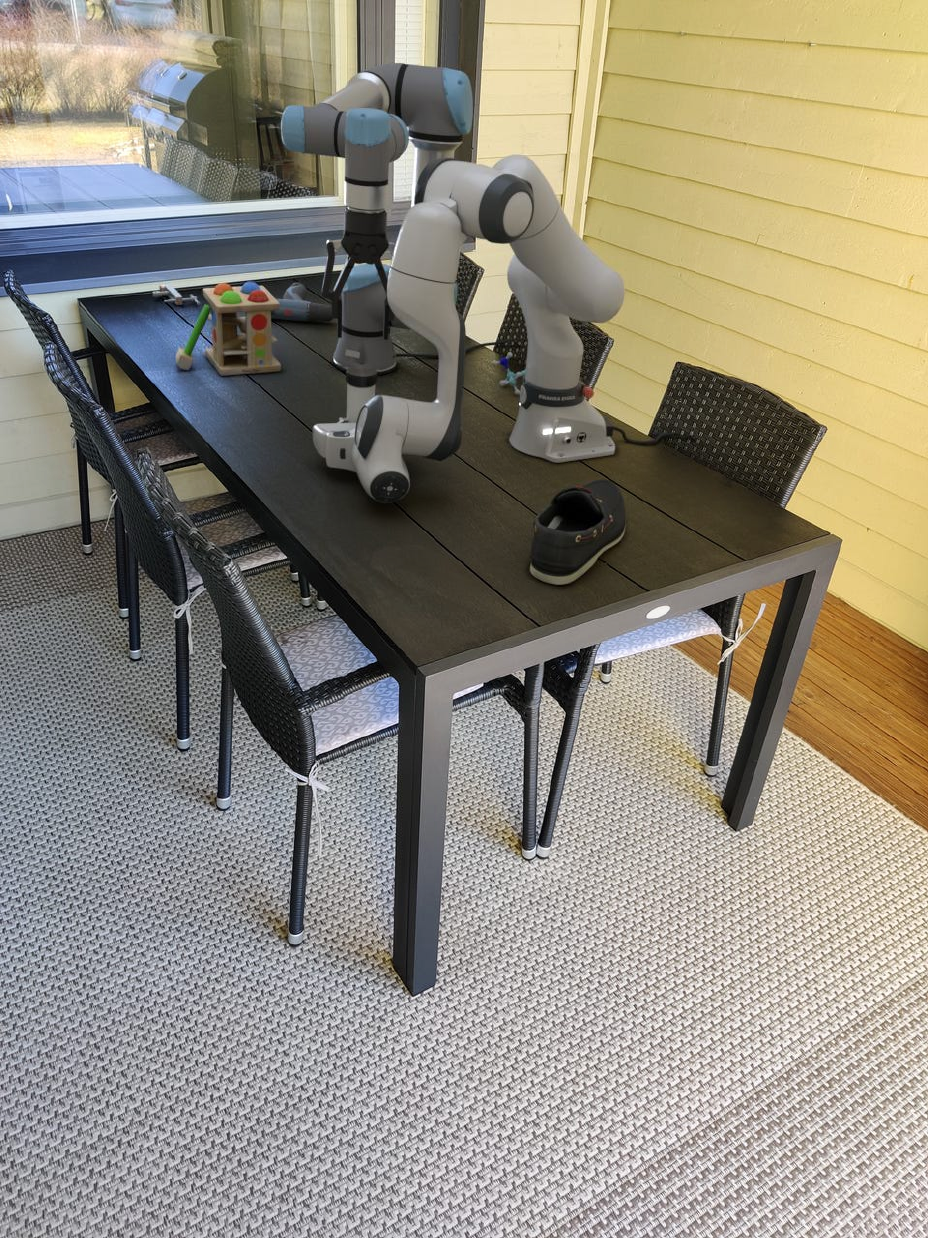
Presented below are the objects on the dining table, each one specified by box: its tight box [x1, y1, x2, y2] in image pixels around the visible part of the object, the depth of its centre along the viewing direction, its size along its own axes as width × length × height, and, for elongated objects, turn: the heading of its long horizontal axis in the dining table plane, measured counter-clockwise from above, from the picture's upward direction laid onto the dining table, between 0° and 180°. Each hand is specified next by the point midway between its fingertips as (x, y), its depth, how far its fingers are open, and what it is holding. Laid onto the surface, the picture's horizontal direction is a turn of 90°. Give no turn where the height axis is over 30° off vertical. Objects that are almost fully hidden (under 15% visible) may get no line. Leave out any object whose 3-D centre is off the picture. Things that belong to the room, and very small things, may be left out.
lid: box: [345, 366, 378, 387], centre depth 189 cm, size 6×6×2 cm
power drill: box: [271, 282, 334, 322], centre depth 265 cm, size 5×19×20 cm
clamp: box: [152, 284, 202, 306], centre depth 265 cm, size 15×2×10 cm
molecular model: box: [491, 351, 527, 396], centre depth 231 cm, size 12×10×10 cm
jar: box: [346, 382, 376, 423], centre depth 193 cm, size 5×5×16 cm
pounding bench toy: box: [174, 281, 282, 377], centre depth 225 cm, size 23×14×18 cm, turn 116°
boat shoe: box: [529, 479, 627, 586], centre depth 172 cm, size 13×33×10 cm, turn 147°
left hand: (362, 336), depth 185 cm, fingers open, 8 cm apart
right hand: (359, 420), depth 195 cm, fingers closed on jar, 5 cm apart
